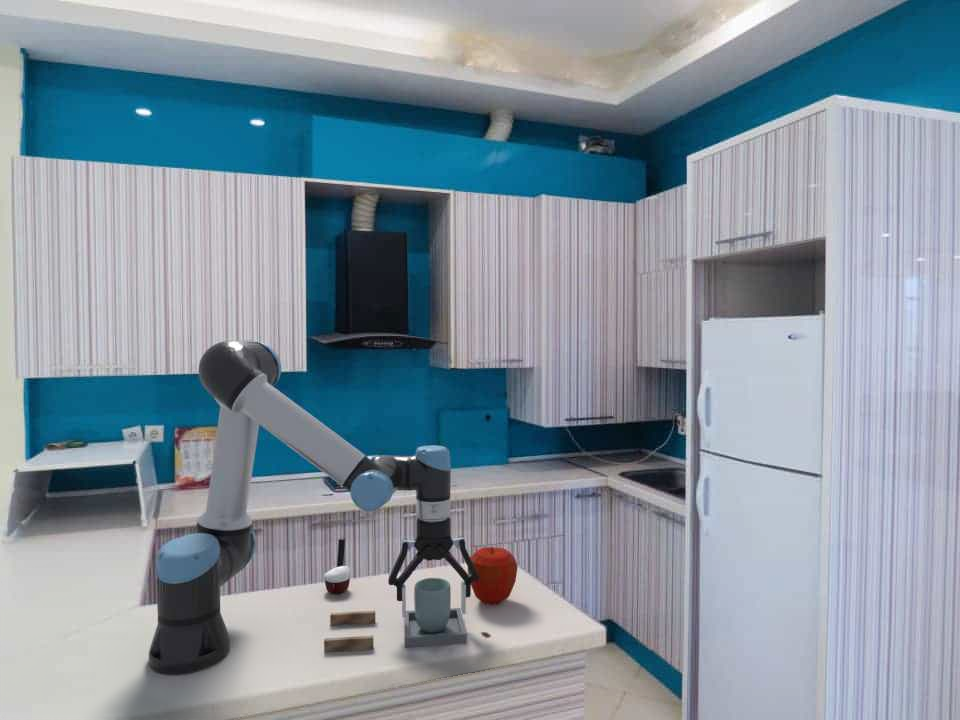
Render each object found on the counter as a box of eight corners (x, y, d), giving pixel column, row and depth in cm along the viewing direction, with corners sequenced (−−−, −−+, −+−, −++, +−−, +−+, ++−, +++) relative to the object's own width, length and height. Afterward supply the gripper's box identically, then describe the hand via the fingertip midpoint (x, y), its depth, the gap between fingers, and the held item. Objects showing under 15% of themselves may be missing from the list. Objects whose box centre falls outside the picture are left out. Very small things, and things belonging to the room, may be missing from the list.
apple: (479, 617, 146) (479, 557, 146) (459, 597, 157) (459, 541, 157) (526, 607, 151) (526, 549, 151) (504, 589, 162) (504, 535, 162)
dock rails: (324, 652, 130) (324, 640, 130) (330, 624, 143) (330, 613, 143) (373, 649, 131) (373, 637, 131) (375, 621, 144) (375, 610, 144)
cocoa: (337, 601, 156) (337, 554, 155) (316, 596, 159) (316, 550, 157) (359, 585, 165) (359, 541, 164) (339, 581, 167) (339, 537, 166)
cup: (432, 617, 145) (432, 574, 144) (457, 627, 140) (457, 583, 139) (407, 630, 139) (407, 585, 139) (432, 641, 134) (432, 594, 134)
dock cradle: (404, 647, 132) (404, 638, 132) (404, 619, 145) (404, 611, 145) (466, 643, 134) (466, 634, 134) (460, 616, 147) (460, 607, 147)
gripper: (376, 524, 133) (377, 624, 134) (491, 519, 136) (491, 617, 137) (377, 514, 141) (378, 608, 142) (486, 510, 144) (486, 602, 145)
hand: (433, 613), depth 139 cm, fingers open, 12 cm apart
